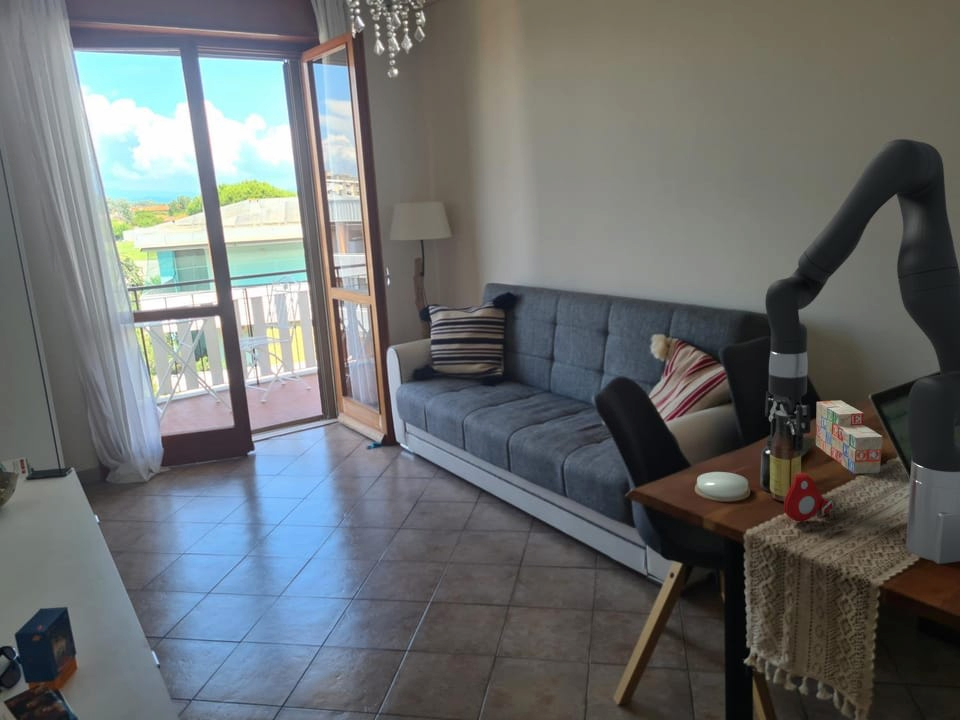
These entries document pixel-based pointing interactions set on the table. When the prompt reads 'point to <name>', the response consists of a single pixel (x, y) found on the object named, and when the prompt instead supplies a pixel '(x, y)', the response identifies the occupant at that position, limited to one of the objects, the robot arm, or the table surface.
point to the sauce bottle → (782, 458)
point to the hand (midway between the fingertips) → (786, 444)
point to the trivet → (722, 486)
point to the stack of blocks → (847, 437)
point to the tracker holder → (805, 499)
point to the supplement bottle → (766, 466)
